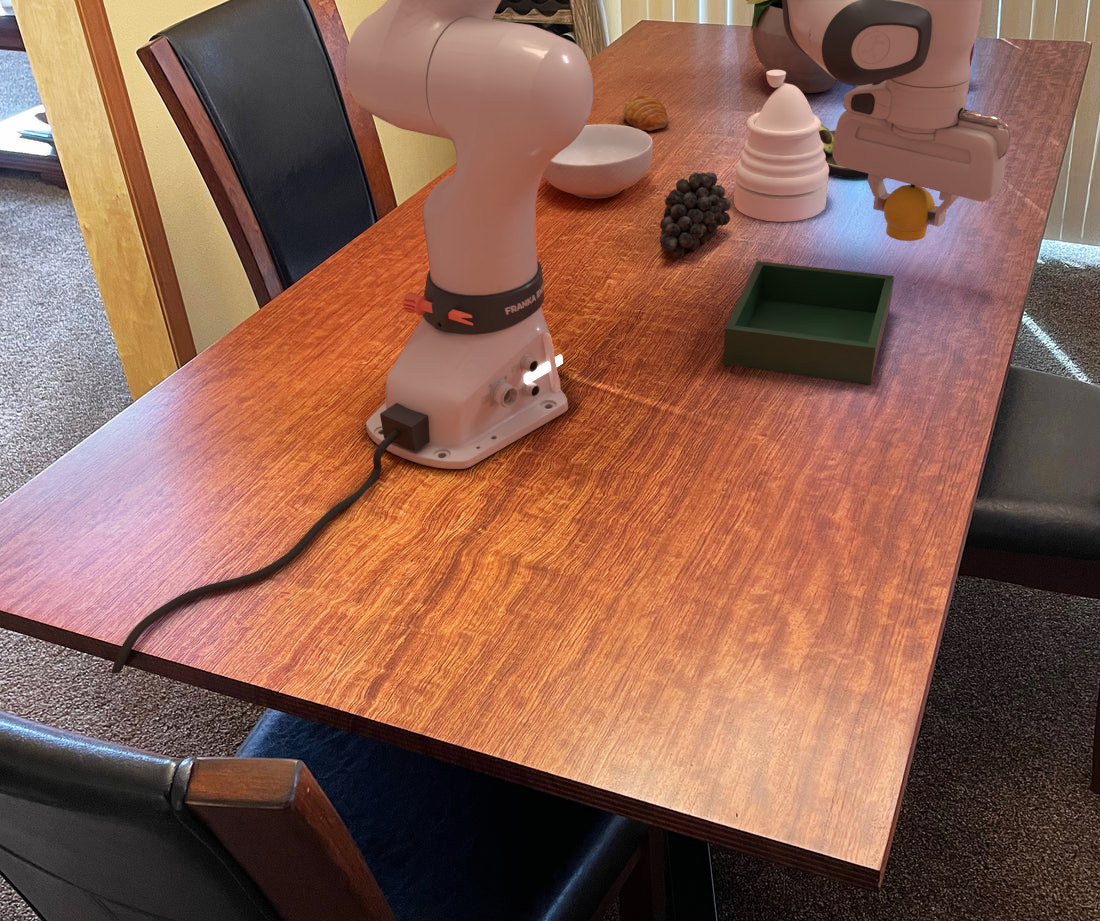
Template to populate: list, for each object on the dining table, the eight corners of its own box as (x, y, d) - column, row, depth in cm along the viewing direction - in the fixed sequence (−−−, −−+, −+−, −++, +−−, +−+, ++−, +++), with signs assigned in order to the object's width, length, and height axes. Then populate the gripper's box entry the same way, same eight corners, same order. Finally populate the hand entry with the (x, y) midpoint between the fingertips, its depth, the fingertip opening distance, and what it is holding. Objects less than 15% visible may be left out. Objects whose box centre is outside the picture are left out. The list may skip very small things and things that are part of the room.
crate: (869, 391, 117) (875, 347, 114) (722, 370, 122) (724, 328, 119) (888, 316, 130) (894, 275, 127) (754, 300, 135) (757, 260, 132)
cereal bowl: (609, 159, 175) (608, 114, 171) (675, 190, 163) (676, 144, 159) (518, 186, 168) (515, 141, 163) (581, 221, 156) (579, 173, 152)
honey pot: (716, 208, 157) (721, 80, 147) (763, 178, 165) (771, 55, 155) (797, 229, 150) (808, 96, 140) (842, 197, 158) (856, 69, 148)
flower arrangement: (880, 66, 205) (897, -78, 191) (881, 111, 186) (901, -46, 171) (744, 64, 211) (751, -77, 196) (732, 107, 191) (739, -45, 177)
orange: (933, 244, 131) (942, 188, 127) (882, 242, 132) (890, 187, 128) (928, 223, 136) (937, 169, 132) (879, 222, 137) (886, 168, 133)
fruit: (680, 203, 137) (728, 158, 147) (624, 213, 142) (674, 169, 152) (699, 267, 141) (745, 219, 151) (644, 274, 146) (692, 227, 156)
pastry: (677, 129, 184) (677, 106, 182) (639, 136, 182) (639, 113, 180) (655, 112, 191) (655, 90, 189) (619, 118, 190) (618, 96, 188)
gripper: (1027, 111, 121) (1003, 229, 129) (860, 78, 132) (848, 188, 140) (1000, 128, 117) (977, 248, 125) (831, 92, 129) (820, 204, 137)
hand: (907, 216), depth 133 cm, fingers closed on orange, 5 cm apart
